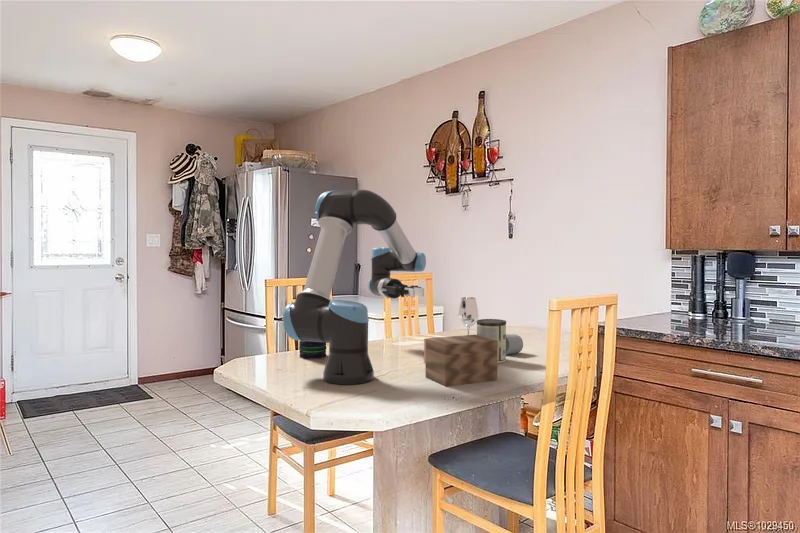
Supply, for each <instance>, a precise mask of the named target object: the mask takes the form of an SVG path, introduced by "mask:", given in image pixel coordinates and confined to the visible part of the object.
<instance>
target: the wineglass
mask: <svg viewBox="0 0 800 533" xmlns="http://www.w3.org/2000/svg"><path fill="white" fill-rule="evenodd" d="M478 308H479V307H478V304H477V299H476V297H471V296H470V297H468V296H467V297H466V296H465V297H461V298H460V304H459V308H458V314H457V316H458V320H459V322H460V324H462V325H463V326H464V327H466V335H470V328H471V327H473V326H474V325H475V324H477V320H479V309H478Z"/></svg>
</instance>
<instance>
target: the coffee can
mask: <svg viewBox="0 0 800 533" xmlns="http://www.w3.org/2000/svg"><path fill="white" fill-rule="evenodd" d="M506 334H507V320H505V319H498V318H497V319H496V318H484V319H483V318H481V319H478V320H477V322H476V335H479V336H483V337H487V338H491V339H494V340H498V359H497V364H503V363H505V362H507V358H506V357H507V355H506Z"/></svg>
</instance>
